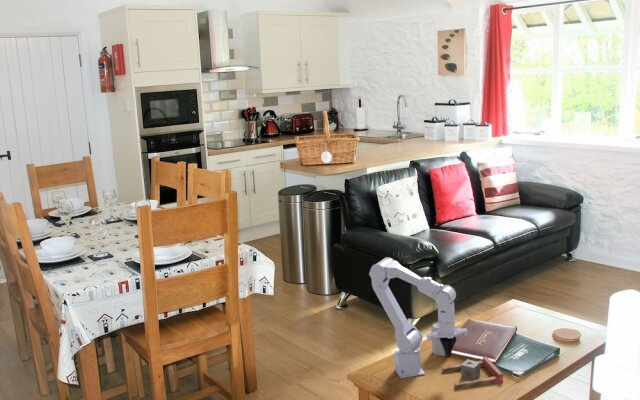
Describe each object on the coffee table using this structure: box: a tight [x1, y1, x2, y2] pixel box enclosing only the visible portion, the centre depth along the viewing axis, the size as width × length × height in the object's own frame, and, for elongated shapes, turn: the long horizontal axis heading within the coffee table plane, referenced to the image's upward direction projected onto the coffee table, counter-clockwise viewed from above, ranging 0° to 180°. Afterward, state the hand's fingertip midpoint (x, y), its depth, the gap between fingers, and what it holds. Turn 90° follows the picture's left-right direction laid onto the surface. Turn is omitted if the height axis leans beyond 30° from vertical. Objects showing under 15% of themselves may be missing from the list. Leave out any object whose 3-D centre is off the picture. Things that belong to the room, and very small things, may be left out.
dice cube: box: [460, 358, 481, 381], centre depth 223 cm, size 5×5×5 cm
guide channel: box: [441, 356, 504, 390], centre depth 223 cm, size 18×14×3 cm
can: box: [430, 321, 447, 357], centre depth 242 cm, size 8×8×12 cm
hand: (448, 355), depth 220 cm, fingers closed
